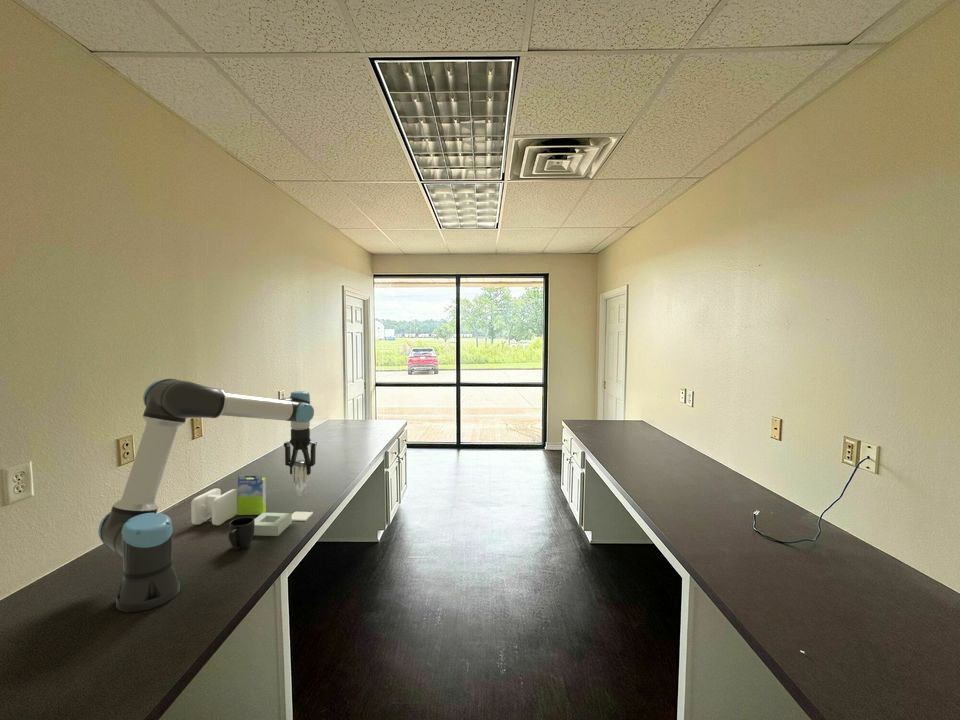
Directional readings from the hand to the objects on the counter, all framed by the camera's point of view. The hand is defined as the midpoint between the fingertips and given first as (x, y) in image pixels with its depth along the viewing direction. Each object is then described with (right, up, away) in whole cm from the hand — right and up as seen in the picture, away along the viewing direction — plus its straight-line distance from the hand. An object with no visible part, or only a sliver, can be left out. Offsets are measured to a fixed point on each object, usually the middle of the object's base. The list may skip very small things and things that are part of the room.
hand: (300, 481), depth 189 cm
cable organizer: (-33, -15, -5) cm, 37 cm away
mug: (-11, -17, -28) cm, 34 cm away
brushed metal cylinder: (0, -5, 0) cm, 5 cm away
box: (-22, -15, +3) cm, 27 cm away
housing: (-8, -16, -11) cm, 21 cm away
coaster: (0, -15, +1) cm, 15 cm away
